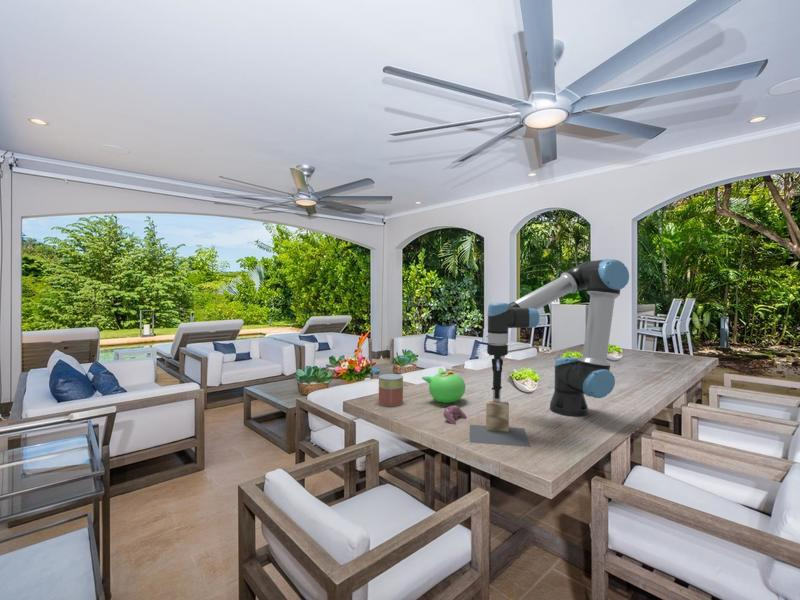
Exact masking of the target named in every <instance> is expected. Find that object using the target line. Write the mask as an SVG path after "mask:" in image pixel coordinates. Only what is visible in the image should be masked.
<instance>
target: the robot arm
mask: <svg viewBox="0 0 800 600" xmlns="http://www.w3.org/2000/svg"><path fill="white" fill-rule="evenodd" d="M629 280H630V272H629V269H628V267H627V266H626V265H625V264H624V262H622V261H620V260H619V259H610V258H609V259H607V258H606V259H600V260H589V261H585V262H582V263H580V264H578V265H576V266H573V267H572V268H570V269H567V270H566V271H564V272H563V273H561V274H560V277H558V278H556V279H554V280H552V281H550V282H548V283H546V284H544V285H543V286H541V287H539V288H536V289H535V290H533V291H531V292H529V293H527V294H526V295H523V296H522V297H520V298H517V299H516V300H514V301H512V302H509V303H508V302H491V303H489V304H488V306H487V307H488V308H487V334H486V335H485V337H486V338H487V343H488V344H487V346H486V351H487V352H486V353H487V355H489V356H493V358H491V365H492V366H491V368H492V387H491V391H492V401H497V402H501V395H502V394H501V392H502V391H501V389H503V386H502V372H503V365H504V360H503V359H502V356H503V357H504V356H508V353H509V345H508V344H509V329H517V328H518V329H529V328H536V327H537V326H539V324H540V313H539V311H538V310H539V309H541V308H543V307H545V306H546V305H549V304H551V303H553V302H555V301H557V300H558V299H560V298H562V297H564V296H566V295H568V294H569V293H571V294H575V293H577V292H579V291H582V290H586V293H587V294H588V295H589V305H588V313H587V320H586V327H585V334H584V344H583V350H582V355H581V356H580V357H558V358H556V359H555V362H554V389H553V390H554V391H553V394H552V397H551V399H550V402H549V410H550V411H551V412H554V413H556V414H559V415H563V416H569V417H570V416H571V417H582V416H587V414H588V413H589V407H588V404H587V401H586V397H585V395H586V396H587V397H592V398H595V399H602V398H605V397H607V396H608V395H609V394H611V393H612V391H613V390H614V388H615V386H616V385H615V384H616V379H615V376H614V374H613V373H612V372H611V371H610V369H611V364H610V362H609V361H608V360H607V359H608V352H609V344H610V337H611V329H612V323H613V322H612V321H613V316H614V315H613V314H614V306H615V300H616V299H617V298H618V297H619V296H621V295H620V294H621V290H623V289H624V288H626V286H627V285H628V283H629Z"/></svg>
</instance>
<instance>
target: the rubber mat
mask: <svg viewBox="0 0 800 600" xmlns="http://www.w3.org/2000/svg"><path fill="white" fill-rule="evenodd" d="M469 443H473V444H474V443H475V444H486V445H500V446H510V447H511V446H513V447H527V448H528V447H529V448H531V447H532V446H531V444H530V441H529V439H528V436H527V433H526V429H525V428H523V427H512V426H511V427H509V432H508V431H493V430H486V425H479V424H469Z"/></svg>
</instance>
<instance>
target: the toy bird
mask: <svg viewBox="0 0 800 600" xmlns="http://www.w3.org/2000/svg"><path fill="white" fill-rule="evenodd" d="M421 379H422V380H424V382H426V383H429V384H428V390H429V394H430V395H431V397H432V398H433V399H434V400H435V401H437V402H439V403H445V404H450V403H454V402H457V401H459V400H460V399H461V398H463V396H464V394H465V391H466V382H465V380H464V379H463V377H462V376H461V375H459V374H458V373H456V372H453V371H448V370H447V371H446V370H445V371H444V369H443V368H442V367H439V368H438V373H437V374H435V375H434V376H429V375H427V376H425V375H424V376H421Z"/></svg>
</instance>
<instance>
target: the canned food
mask: <svg viewBox="0 0 800 600" xmlns="http://www.w3.org/2000/svg"><path fill="white" fill-rule="evenodd" d="M403 404H404V375H402V374H398V373H384V374H380V375H379V376H378V405H381V406H385V407H397V406H401V405H403Z"/></svg>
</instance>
